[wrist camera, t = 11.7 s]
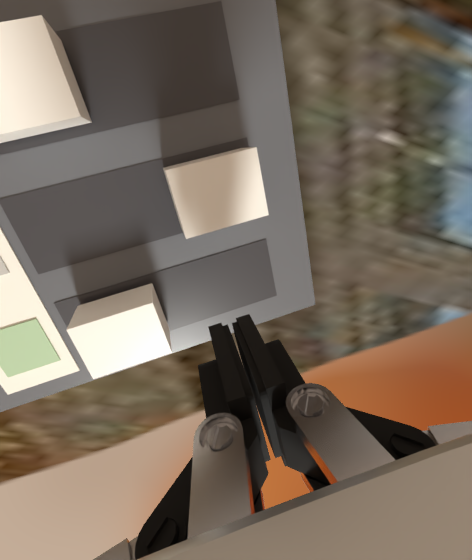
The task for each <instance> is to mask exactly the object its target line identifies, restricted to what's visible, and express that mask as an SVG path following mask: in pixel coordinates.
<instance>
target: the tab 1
mask: <svg viewBox="0 0 472 560" xmlns="http://www.w3.org/2000/svg"><path fill="white" fill-rule="evenodd" d="M87 123H92V121H91V119H90V116H89V113H88V111H87V108H86V105H85V103H84V100H83V97H82V95H81V92H80V89H79V87H78V84H77V81H76V79H75V76H74V73H73V71H72V68H71V65H70V63H69V60H68V57H67V55H66V52H65V49H64V47H63V44H62V41H61V39H60V38H59V37H58V35H57V34H56V33H55V32H54V30H53V29H52V28H51V27H50V25H49V24H48V23H47V21H46V20H45V19H44V18H43V16H42V15H39V16H33V17H28V18H22V19H16V20H10V21H5V22H0V143H3V142H8V141H12V140H17V139H21V138H25V137H30V136H34V135H39V134H43V133H48V132H52V131H56V130H61V129H65V128H70V127H74V126H78V125H83V124H87Z"/></svg>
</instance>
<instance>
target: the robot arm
mask: <svg viewBox="0 0 472 560" xmlns="http://www.w3.org/2000/svg"><path fill="white" fill-rule="evenodd" d="M236 321H237V322H234V323H232V326H233V330H234V333H235V337H236V341H237V345H238V348H239V352H240V356H241V359H242V362H241V359H240V357H239V354H238V351H237V348H236V346H235V343H234V340H233V337H232V335H231V332H230V329H229V326H228V324H227V325H224V326H222V323H218V324H215V325H212V326H209V327H208V328H209V332H210V336H211V340H212V344H213V348H214V352H215V356H216V360H213V361H210V362H207V363H204V364H200V365H198V369H199V375H200V382H201V388H202V394H203V400H204V407H205V413H206V419H205V420H204V421H203V422H202V423H201V424H200V425H199V426H198V428H197V430H196V432H195V436H194V445H193V457H192V458H191V460H190V461H189V463H188V464H187V465H186V467H185V468H184V470H183V471H182V472H181V474H180V475H179V477H178V478H177V479H176V481H175V482H174V484H173V485H172V486H171V488H170V489H169V490H168V492H167V493H166V495H165V496H164V498H163V499H162V500H161V502H160V503H159V504H158V506H157V507H156V509H155V510H154V511H153V513H152V514H151V516H150V517H149V518H148V520H147V521H146V523H145V524H144V526H143V527H142V529H141V531H140V533H139V535H138V537H136V538H134V539H133V540H131V541H130V542H129V541H128V539H127V538H126V539H125V540H123V541H122V542H120V543H119V544H117V545H115V546H114V547H112V548H111V549H109V550H108V551H106V552H105V553H103V554H101V555H100V556H98V557H97V558H95V559H94V560H472V421H469V422H461V423H452V424H444V425H435V426H428V430H427V431H421V430H419V429H417V428H414V427H412V426H409V425H405V424H402V423H399V422H396V421H392V420H389V419H385V418H382V417H378V416H375V415H372V414H368V413H365V412H361V411H358V410H355V409H351V408H348V407H345V406H344V405H343V404H342V403H341V402H340V401H339V400H338V399H337V398H336V397H335V396H334V395H333V394H332V392H331V391H329V390H328V389H327V388H326V387H324V386H321V385H319V384H312V383H309V384H306V383H305V382H304V380H303V378H302V377H301V375H300V373H299V372H298V370H297V368H296V367H295V365H294V363H293V362H292V360H291V358H290V357H289V355H288V353H287V352H286V350H285V348H284V347H283V345H282V343H281V342H280V341H279V340H275V341H272V342H269V343H266V344H265V343H264V341H263V339H262V338H261V336H260V334H259V332H258V330H257V328H256V326H255V324H254V322H253V320H252V318H251V316H250V314H247V315H244V316H241V317H238V318H236ZM242 363H243V365H242ZM243 367H244V368H243ZM256 406H257V407H256ZM257 409H258V411H257ZM258 412H259V414H260V417H261V420H262V422H263V425H264V428H265V430H266V434H267V436H268V439H269V442H270V445H271V447H272V450H273V453H274V456H275V457H276V458H277V457H280V456H281V457H282V460H283V462H284V465H285V466H288V467H290V468H292V469H295V470H297V471H299V472H300V474H301V477H302V479H303V481H304V483H305V484H306V486H307V488H308V489H309V491H310V493H308V494H305V495H302V496H300V497H297V498H294V499H292V500H289V501H287V502H284V503H281V504H279V505H276V506H274V507H271V508H268V509H265V506H264V500H263V493H262V490H261V487H262V485H263V483H264V481H265V479H266V477H267V475H268V470H267V467H266V463H265V462H266V461H269V460H270V456H269V452H268V448H267V445H266V441H265V437H264V433H263V430H262V426H261V422H260V418H259V415H258Z"/></svg>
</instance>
